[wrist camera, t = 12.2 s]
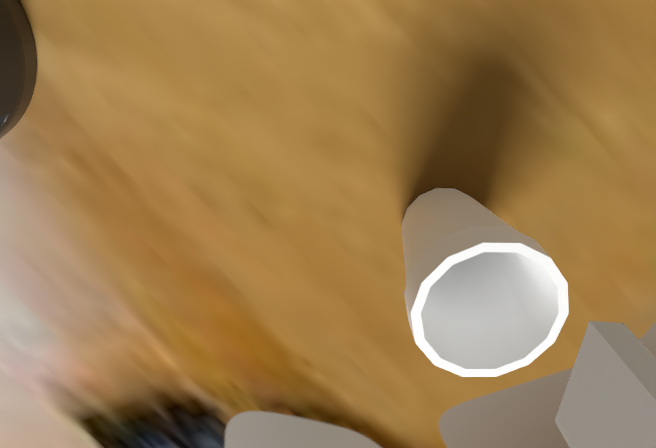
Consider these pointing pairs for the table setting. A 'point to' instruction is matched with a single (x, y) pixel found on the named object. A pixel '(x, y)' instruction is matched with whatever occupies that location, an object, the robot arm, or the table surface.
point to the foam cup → (477, 287)
